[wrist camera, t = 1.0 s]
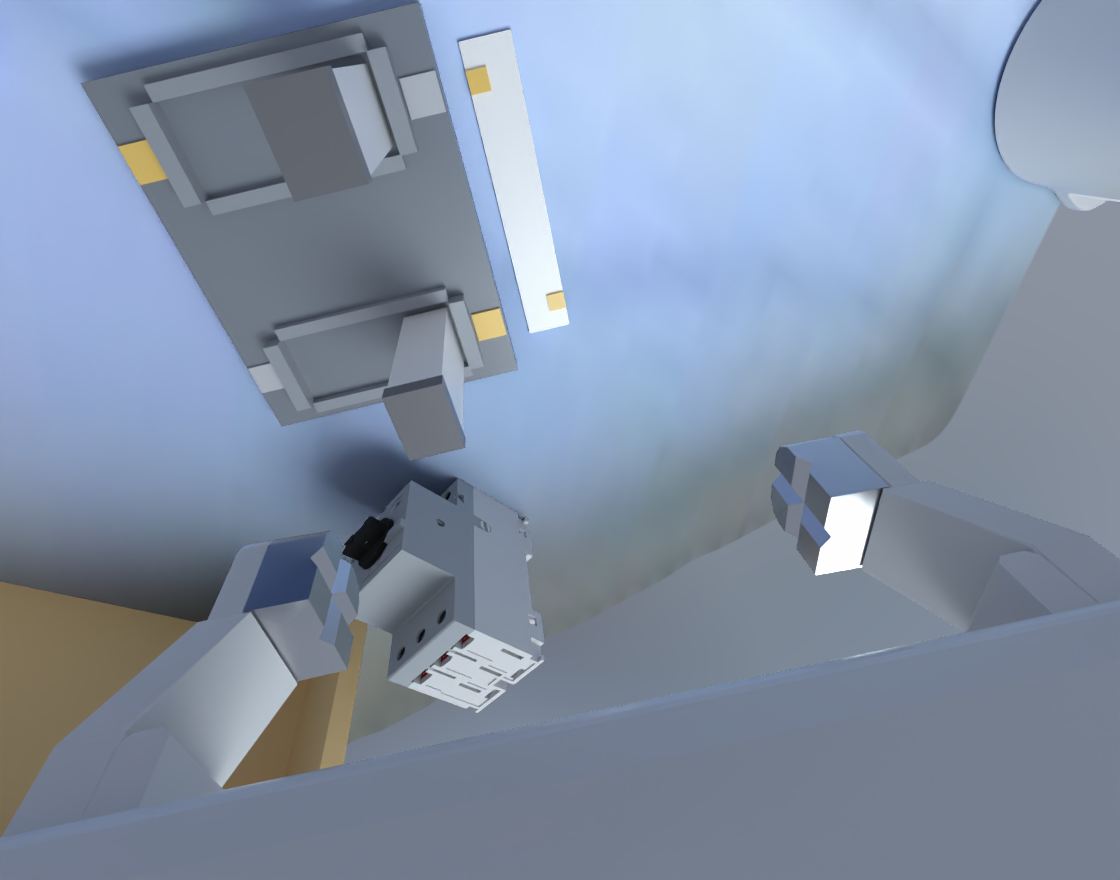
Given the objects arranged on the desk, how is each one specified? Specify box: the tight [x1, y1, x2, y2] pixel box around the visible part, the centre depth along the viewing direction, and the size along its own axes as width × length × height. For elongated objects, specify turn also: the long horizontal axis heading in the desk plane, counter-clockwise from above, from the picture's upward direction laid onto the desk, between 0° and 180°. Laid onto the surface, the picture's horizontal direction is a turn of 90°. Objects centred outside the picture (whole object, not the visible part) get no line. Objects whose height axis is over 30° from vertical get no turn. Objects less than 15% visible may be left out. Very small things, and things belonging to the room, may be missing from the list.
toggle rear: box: [382, 307, 465, 461], centre depth 35 cm, size 3×4×11 cm
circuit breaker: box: [342, 478, 544, 713], centre depth 45 cm, size 8×14×15 cm, turn 46°
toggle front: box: [243, 64, 394, 202], centre depth 27 cm, size 3×4×11 cm
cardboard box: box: [0, 582, 368, 837], centre depth 42 cm, size 40×26×24 cm, turn 60°
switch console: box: [81, 2, 569, 426], centre depth 36 cm, size 22×22×3 cm
